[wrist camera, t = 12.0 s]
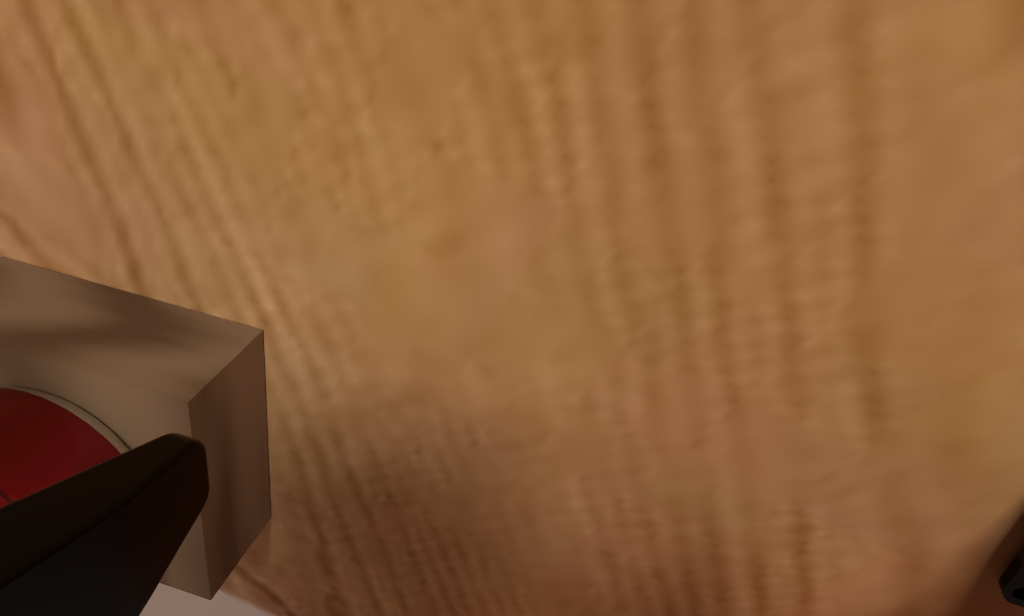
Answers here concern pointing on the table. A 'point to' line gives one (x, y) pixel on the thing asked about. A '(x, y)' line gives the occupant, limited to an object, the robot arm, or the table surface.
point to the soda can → (47, 442)
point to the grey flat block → (151, 393)
